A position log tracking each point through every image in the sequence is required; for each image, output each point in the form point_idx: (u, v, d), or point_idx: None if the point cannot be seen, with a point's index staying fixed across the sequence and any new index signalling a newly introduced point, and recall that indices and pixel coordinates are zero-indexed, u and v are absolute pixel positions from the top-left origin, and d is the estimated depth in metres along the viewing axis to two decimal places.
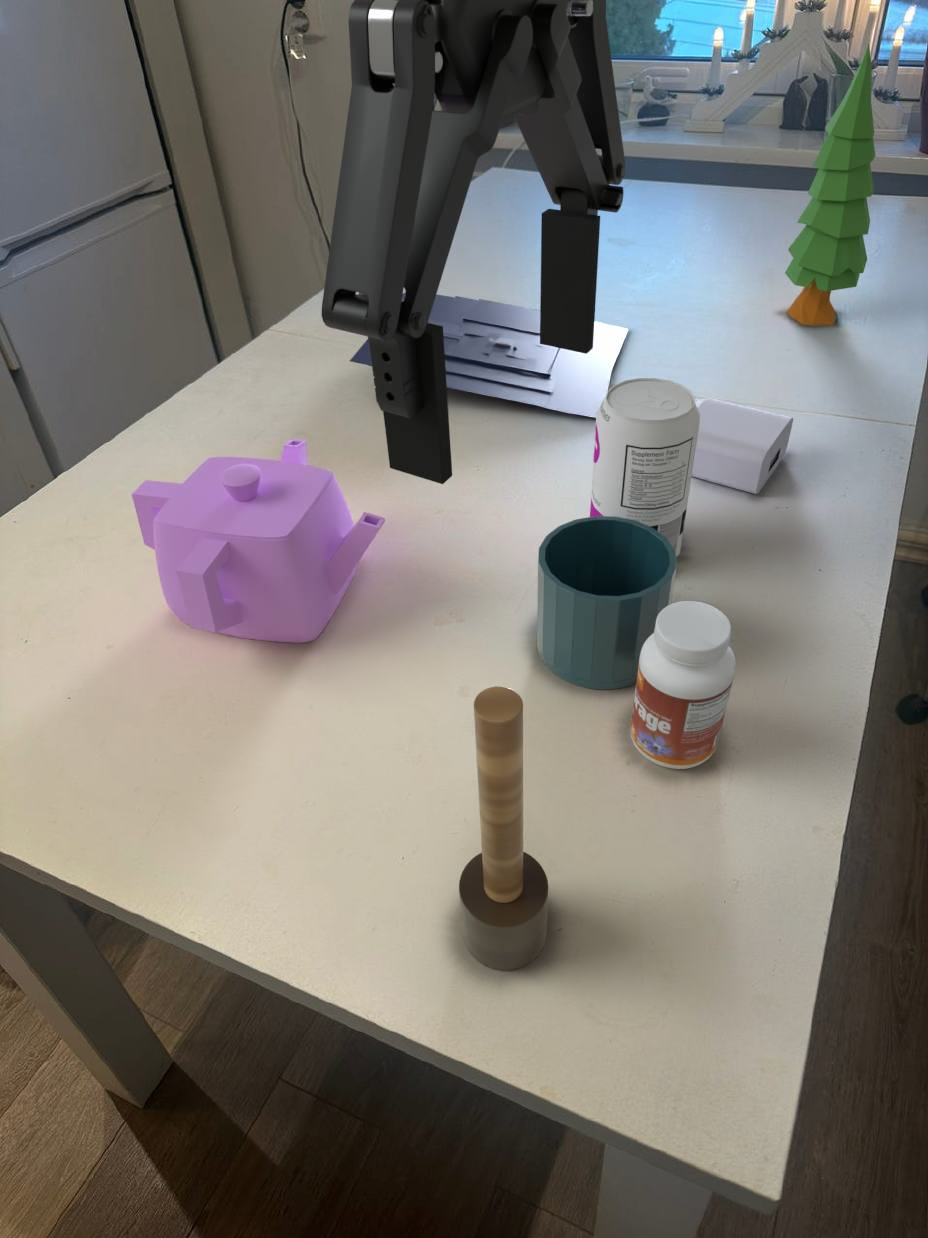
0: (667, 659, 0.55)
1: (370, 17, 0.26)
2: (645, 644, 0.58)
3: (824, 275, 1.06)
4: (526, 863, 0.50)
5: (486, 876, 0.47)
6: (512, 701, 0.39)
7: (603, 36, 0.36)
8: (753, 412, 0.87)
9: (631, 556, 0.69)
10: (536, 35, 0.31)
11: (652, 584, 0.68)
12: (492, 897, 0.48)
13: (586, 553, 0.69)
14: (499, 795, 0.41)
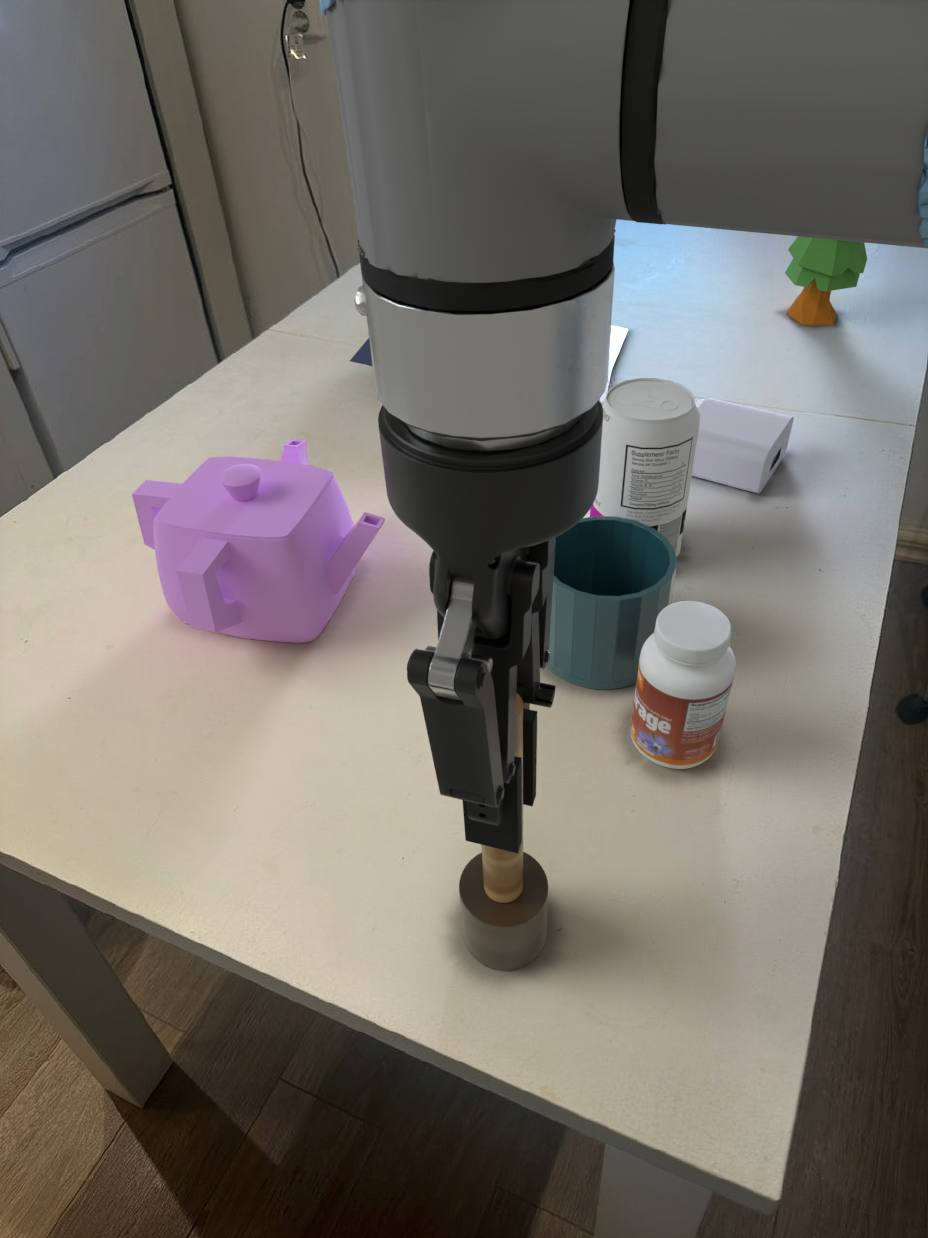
0: (667, 659, 0.55)
1: (431, 685, 0.29)
2: (646, 644, 0.58)
3: (824, 275, 1.06)
4: (526, 863, 0.50)
5: (486, 876, 0.47)
6: None
7: None
8: (753, 412, 0.87)
9: (631, 556, 0.69)
10: (533, 549, 0.33)
11: (652, 584, 0.68)
12: (492, 897, 0.48)
13: (586, 553, 0.69)
14: None
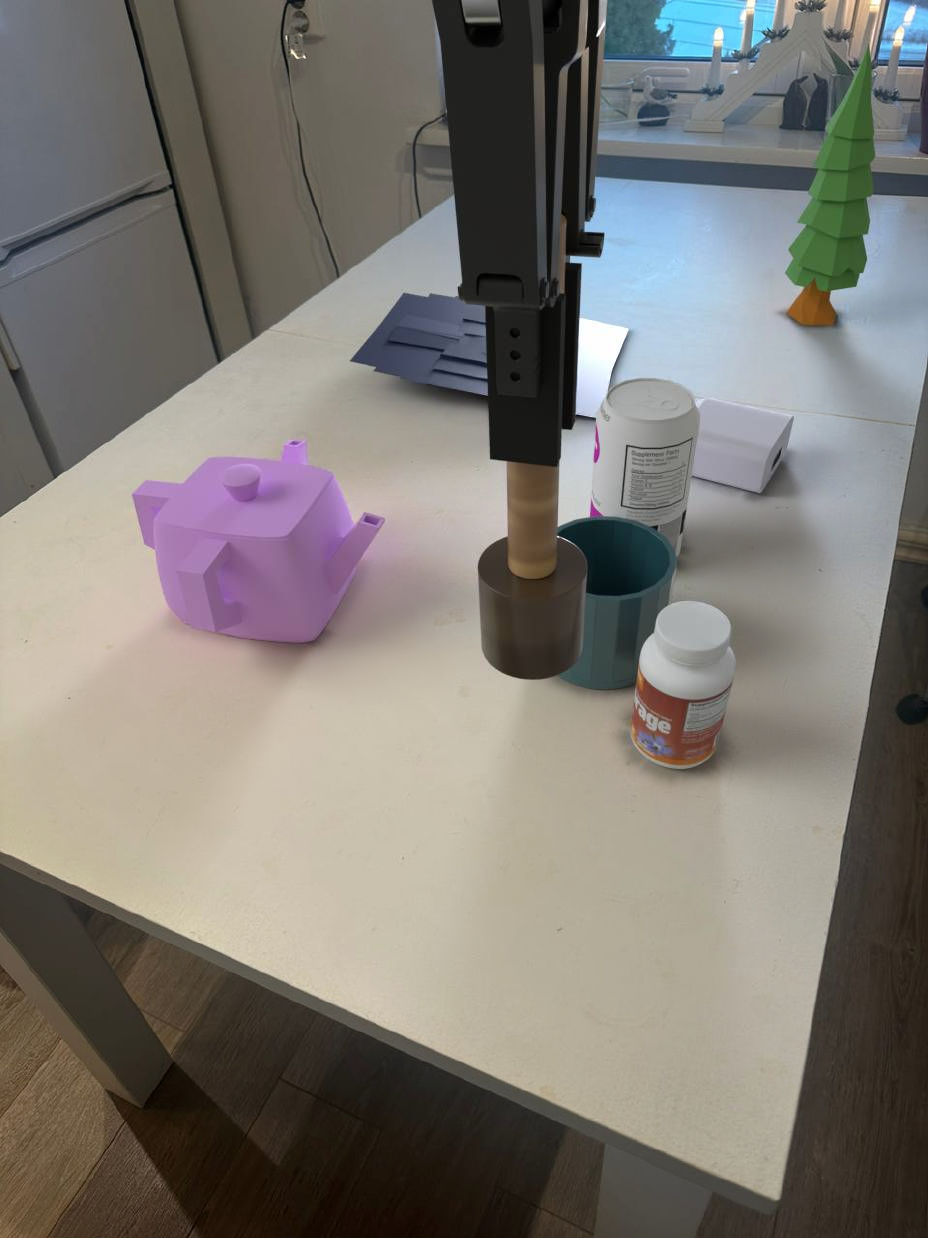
0: (667, 659, 0.55)
1: None
2: (646, 644, 0.58)
3: (824, 275, 1.06)
4: (559, 544, 0.41)
5: (512, 538, 0.38)
6: None
7: None
8: (753, 411, 0.87)
9: (631, 556, 0.69)
10: None
11: (652, 584, 0.68)
12: (519, 572, 0.39)
13: (586, 553, 0.69)
14: None
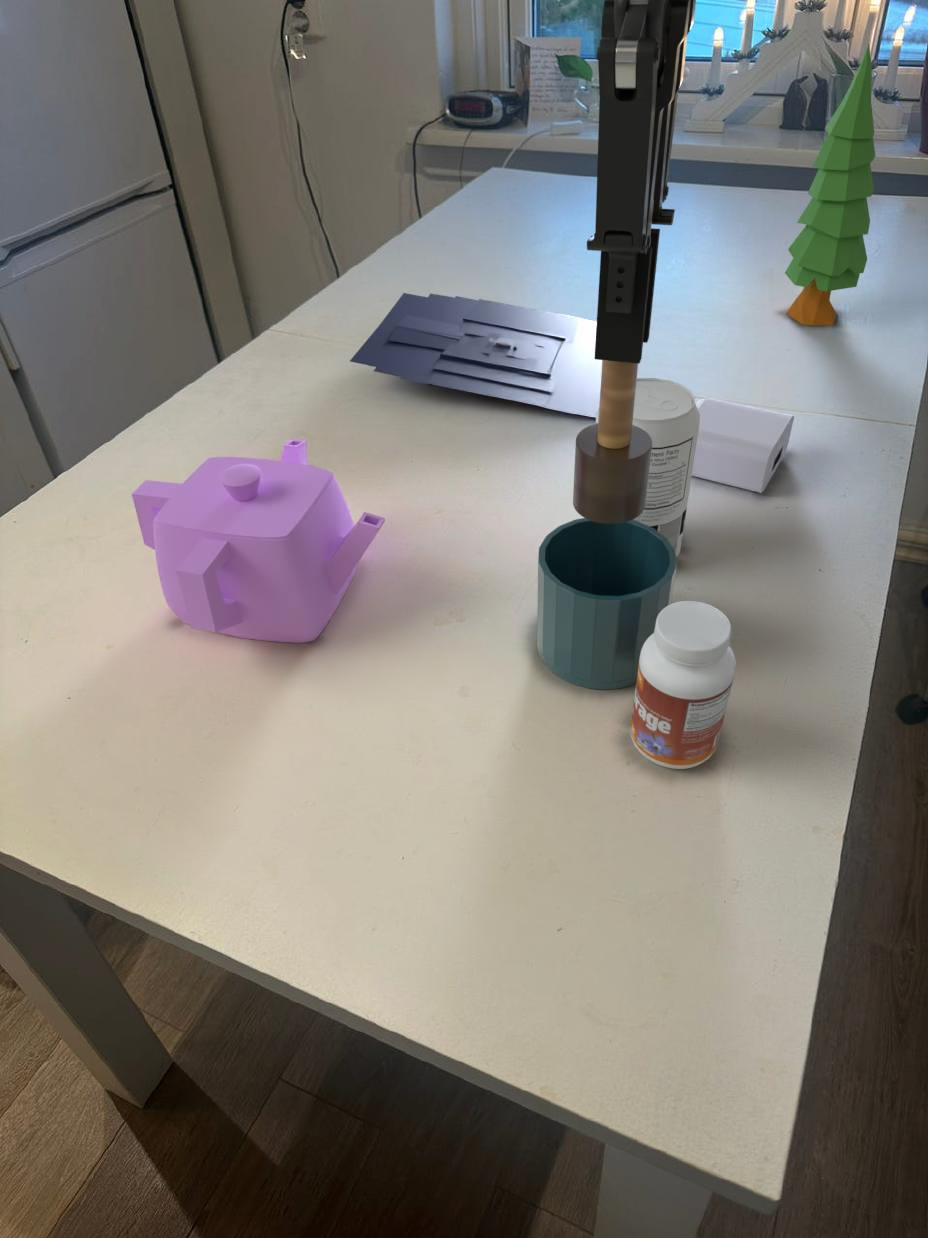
0: (667, 659, 0.55)
1: (617, 59, 0.38)
2: (646, 644, 0.58)
3: (824, 275, 1.06)
4: (631, 429, 0.59)
5: (603, 419, 0.56)
6: None
7: None
8: (754, 411, 0.87)
9: (631, 556, 0.69)
10: None
11: (652, 584, 0.68)
12: (606, 443, 0.57)
13: (586, 553, 0.69)
14: None
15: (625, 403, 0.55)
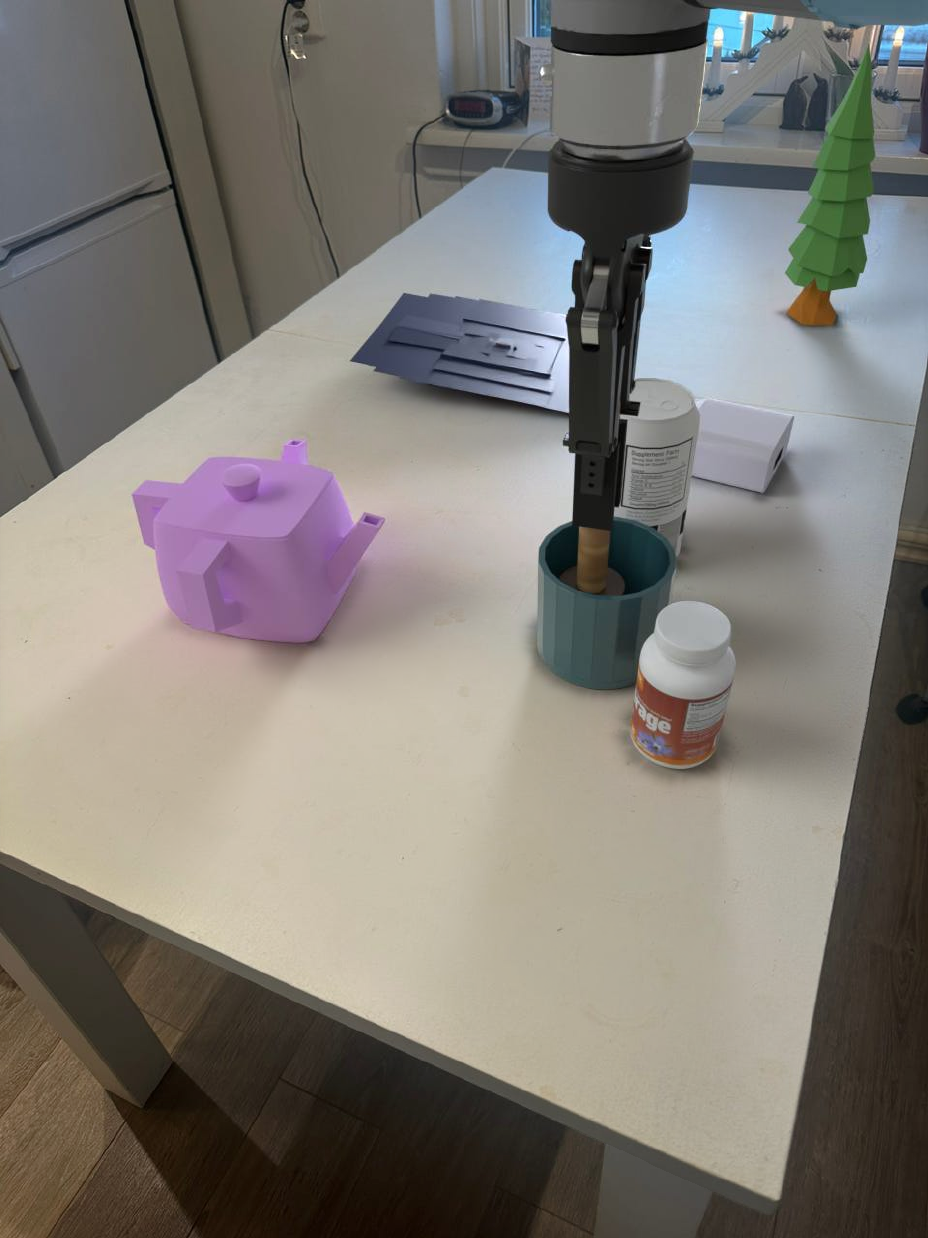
0: (667, 659, 0.55)
1: (582, 327, 0.46)
2: (646, 644, 0.58)
3: (824, 275, 1.06)
4: (607, 572, 0.66)
5: (580, 569, 0.64)
6: None
7: None
8: (754, 411, 0.87)
9: (631, 556, 0.69)
10: None
11: (652, 584, 0.68)
12: (584, 589, 0.64)
13: None
14: None
15: (600, 558, 0.62)
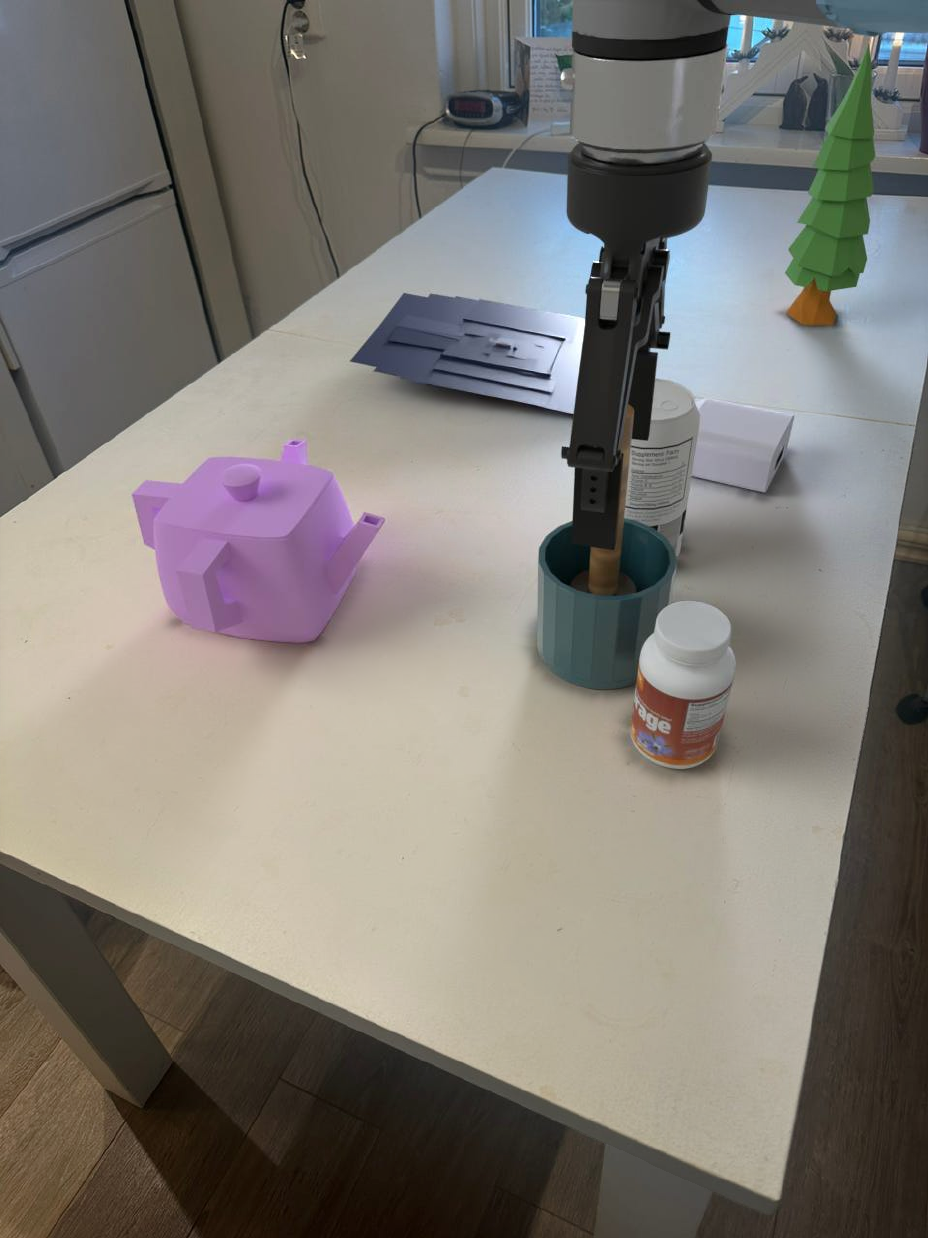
0: (667, 659, 0.55)
1: (603, 290, 0.45)
2: (646, 644, 0.58)
3: (824, 275, 1.06)
4: (618, 576, 0.67)
5: (593, 573, 0.64)
6: None
7: (665, 248, 0.55)
8: (754, 411, 0.87)
9: (631, 556, 0.69)
10: None
11: (652, 584, 0.68)
12: (596, 593, 0.65)
13: (586, 553, 0.69)
14: None
15: (612, 563, 0.63)
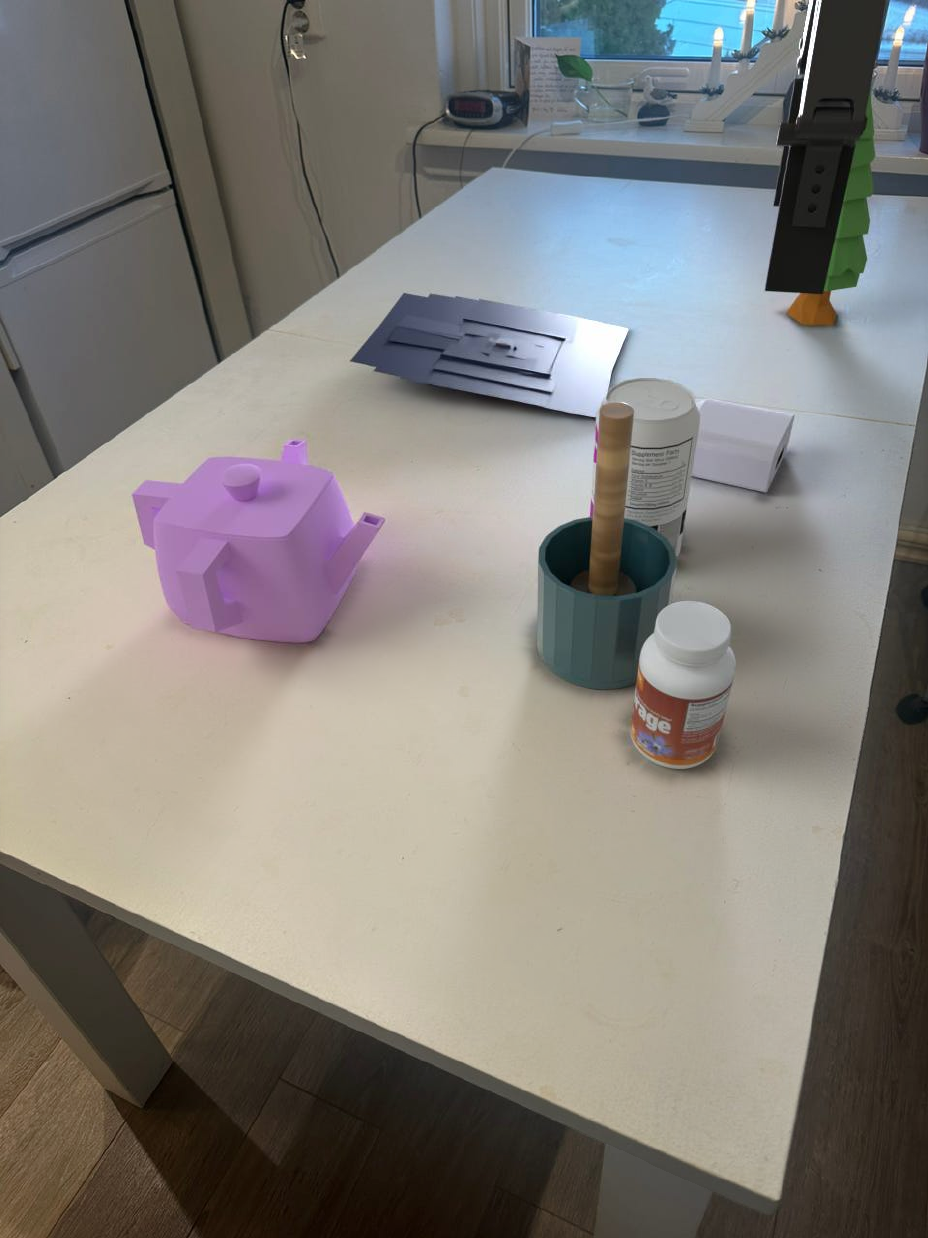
0: (667, 659, 0.55)
1: None
2: (646, 644, 0.58)
3: None
4: (618, 576, 0.67)
5: (593, 573, 0.64)
6: (626, 408, 0.56)
7: None
8: (755, 411, 0.87)
9: (631, 556, 0.69)
10: None
11: (652, 584, 0.68)
12: (596, 593, 0.65)
13: (586, 553, 0.69)
14: (612, 488, 0.59)
15: (612, 563, 0.63)
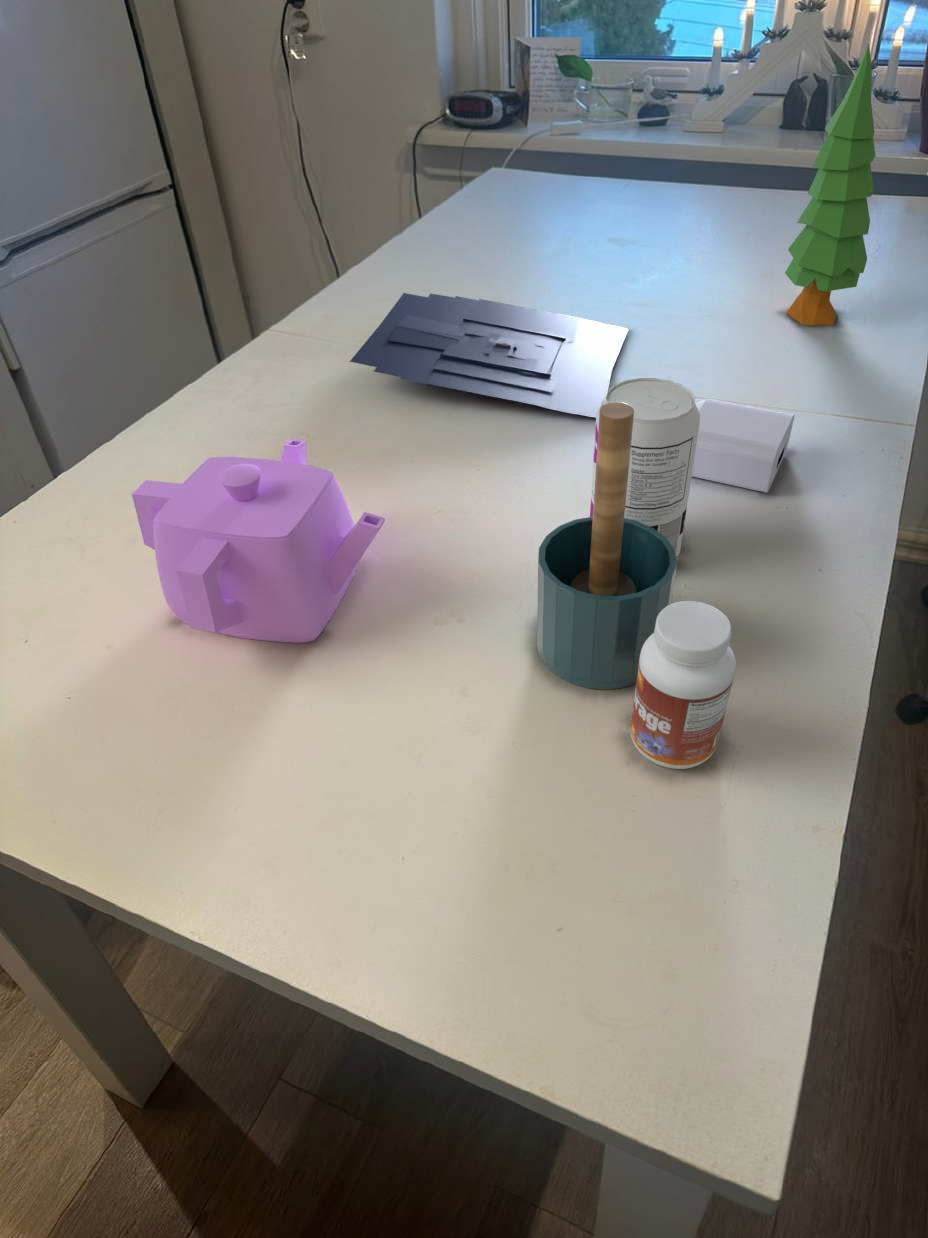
0: (667, 659, 0.55)
1: None
2: (646, 644, 0.58)
3: (824, 275, 1.06)
4: (618, 576, 0.67)
5: (593, 573, 0.64)
6: (626, 408, 0.56)
7: None
8: (755, 411, 0.87)
9: (631, 556, 0.69)
10: None
11: (652, 584, 0.68)
12: (596, 593, 0.65)
13: (586, 553, 0.69)
14: (612, 488, 0.59)
15: (612, 563, 0.63)
